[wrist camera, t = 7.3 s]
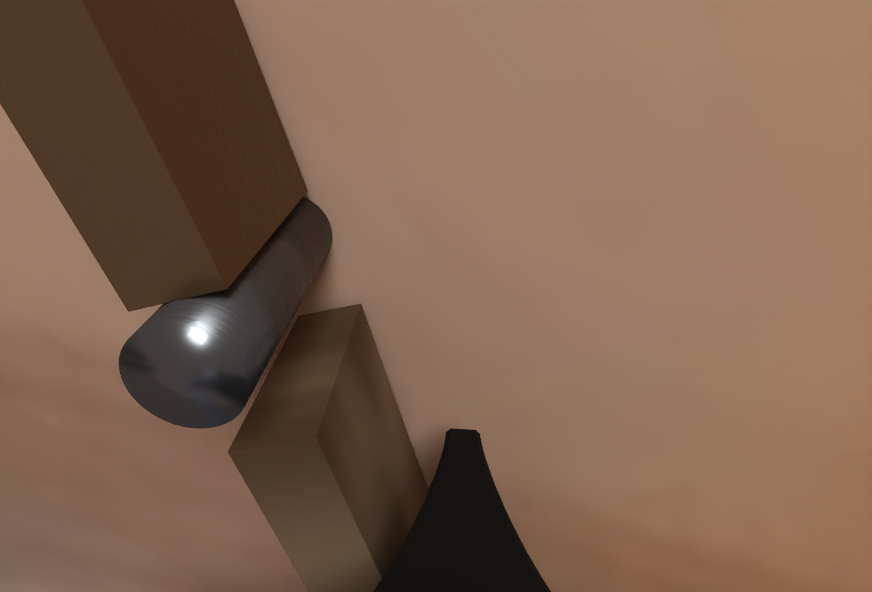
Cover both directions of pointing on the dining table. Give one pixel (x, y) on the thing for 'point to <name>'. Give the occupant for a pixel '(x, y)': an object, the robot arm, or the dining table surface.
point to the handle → (331, 454)
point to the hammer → (169, 184)
